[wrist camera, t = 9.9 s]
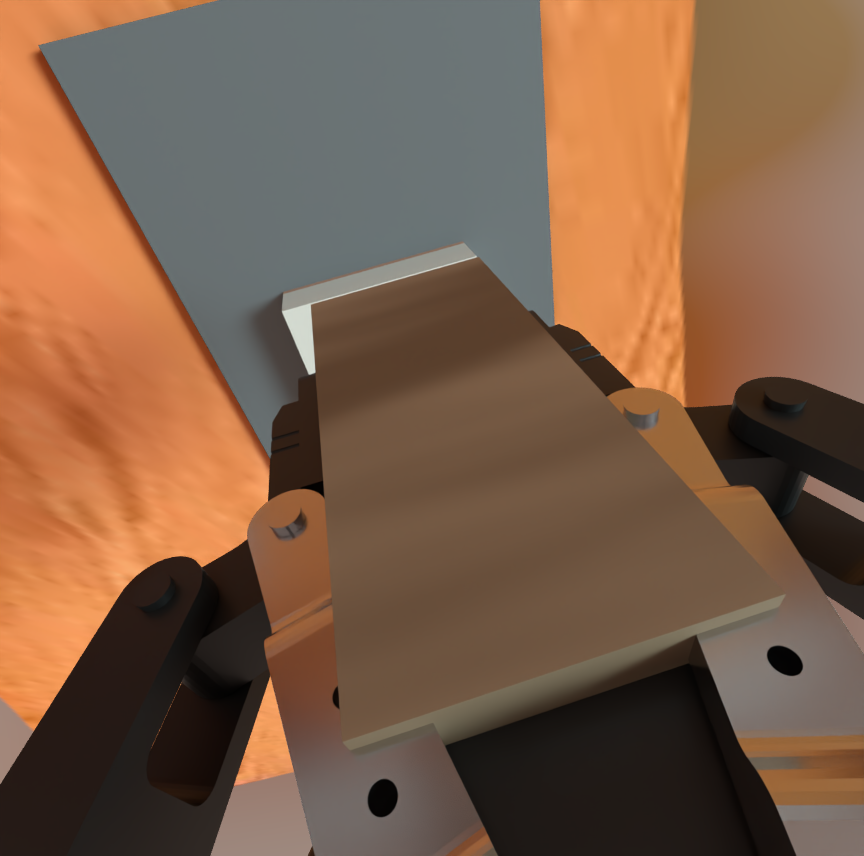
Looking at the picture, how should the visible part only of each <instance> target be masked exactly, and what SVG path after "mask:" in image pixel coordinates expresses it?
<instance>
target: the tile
mask: <svg viewBox="0 0 864 856" xmlns="http://www.w3.org/2000/svg"><path fill="white" fill-rule="evenodd" d="M476 257H477V256H476V255H475V254H474V253H473V252H472V251H471V250H470V249H469V248H468V246H467V245H466V244H465V243H464V242H463V241H462V242H458V243H455V244H451V245H447V246H444V247H440V248H437V249H433V250H430V251H426V252H423V253H419V254H416V255H412V256H409V257H405V258H401V259H398V260H394V261H391V262H387V263H384V264H380V265H377V266H373V267H370V268H366V269H363V270H359V271H355V272H352V273H348V274H345V275H341V276H338V277H334V278H331V279H327V280H324V281H320V282H316V283H313V284H309V285H306V286H302V287H299V288H295V289H292V290H288V291H285V292H283V303H282V313H283V315H284V318H285V320H286V322H287V325H288V327H289V329H290V332H291V334H292V336H293V339H294V341H295V343H296V346H297V348H298V350H299V353H300V355H301V357H302V360H303V362H304V364H305V367H306V369H307V371H308V374H309V375H310V374H313V373H315V359H314V345H313V331H312V317H311V304H314V303H318V302H322V301H325V300H329V299H332V298H336V297H339V296H343V295H346V294H350V293H353V292H357V291H360V290H364V289H367V288H371V287H374V286H378V285H381V284H385V283H388V282H392V281H395V280H399V279H402V278H406V277H409V276H413V275H416V274H420V273H423V272H427V271H430V270H434V269H437V268H441V267H444V266H448V265H451V264H455V263H458V262H462V261H465V260H469V259H473V258H476Z"/></svg>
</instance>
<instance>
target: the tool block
mask: <svg viewBox="0 0 864 856" xmlns="http://www.w3.org/2000/svg"><path fill="white" fill-rule="evenodd" d="M311 317H312V331H313V345H314V359H315V373H316V387H317V400H318V414H319V428H320V442H321V456H322V470H323V484H324V498H325V512H326V525H327V539H328V553H329V567H330V581H331V595H332V609H333V623H334V637H335V650H336V664H337V678H338V692H339V706H340V720H341V734H342V743H343V744H344V745H345V746H346V747H347V748H348V749H349V750H353V749H356V748H359V747H362V746H365V745H368V744H371V743H374V742H377V741H380V740H383V739H386V738H389V737H392V736H395V735H398V734H401V733H404V732H407V731H410V730H413V729H416V728H419V727H422V726H425V725H428V724H431V723H434V725H435V727H436V729H437V731H438V733H439V735H440V736H441V738H442V740H443V742H444V744H445V745H448V744H451V743H454V742H457V741H460V740H463V739H466V738H469V737H472V736H475V735H478V734H481V733H484V732H486V731H489V730H492V729H495V728H498V727H501V726H504V725H507V724H510V723H513V722H516V721H519V720H522V719H525V718H528V717H531V716H534V715H537V714H540V713H543V712H546V711H549V710H552V709H554V708H557V707H560V706H563V705H566V704H569V703H572V702H575V701H578V700H581V699H584V698H587V697H590V696H593V695H596V694H599V693H602V692H605V691H608V690H611V689H614V688H617V687H620V686H622V685H625V684H628V683H631V682H634V681H637V680H640V679H643V678H646V677H649V676H652V675H655V674H658V673H661V672H664V671H667V670H670V669H673V668H676V667H679V666H682V665H685V664H687V663H689V661H688V658H689V655H690V652H691V649H692V645H693V642H694V639H695V636H696V634H699V633H702V632H705V631H708V630H711V629H714V628H717V627H720V626H723V625H726V624H729V623H732V622H735V621H738V620H741V619H744V618H747V617H750V616H753V615H756V614H759V613H762V612H765V611H768V610H771V609H774V608H777V607H779V606H780V604H781V603H782V601H783V599H784V597H785V595H786V593H785V592H784V591H783V590H782V589H781V588H780V587H779V586H778V584H777V583H776V582H775V581H774V580H773V579H772V578H771V577H770V576H769V575H768V574H767V572H766V571H765V570H764V569H763V568H762V567H761V566H760V565H759V564H758V563H757V561H756V560H755V559H754V558H753V557H752V556H751V555H750V554H749V553H748V552H747V550H746V549H745V548H744V547H743V546H742V545H741V544H740V543H739V542H738V541H737V539H736V538H735V537H734V536H733V535H732V534H731V533H730V532H729V531H728V530H727V529H726V527H725V526H724V525H723V524H722V523H721V522H720V521H719V520H718V519H717V518H716V516H715V515H714V514H713V513H712V512H711V511H710V510H709V509H708V508H707V507H706V505H705V504H704V503H703V502H702V501H701V500H700V499H699V498H698V497H697V496H696V494H695V493H694V492H693V491H692V490H691V489H690V488H689V487H688V486H687V485H686V484H685V482H684V481H683V480H682V479H681V478H680V477H679V476H678V475H677V474H676V473H675V471H674V470H673V469H672V468H671V467H670V466H669V465H668V464H667V463H666V462H665V460H664V459H663V458H662V457H661V456H660V455H659V454H658V453H657V452H656V451H655V450H654V448H653V447H652V446H651V445H650V444H649V443H648V442H647V441H646V440H645V439H644V437H643V436H642V435H641V434H640V433H639V432H638V431H637V430H636V429H635V428H634V426H633V425H632V424H631V423H630V422H629V421H628V420H627V419H626V418H625V417H624V415H623V414H622V413H621V412H620V411H619V410H618V409H617V408H616V407H615V406H614V405H613V403H612V402H611V401H610V400H609V399H608V398H607V397H606V396H605V395H604V394H603V392H602V391H601V390H600V389H599V388H598V387H597V386H596V385H595V384H594V383H593V381H592V380H591V379H590V378H589V377H588V376H587V375H586V374H585V373H584V372H583V371H582V369H581V368H580V367H579V366H578V365H577V364H576V363H575V362H574V361H573V360H572V358H571V357H570V356H569V355H568V354H567V353H566V352H565V351H564V350H563V349H562V347H561V346H560V345H559V344H558V343H557V342H556V341H555V340H554V339H553V338H552V336H551V335H550V334H549V333H548V332H547V331H546V330H545V329H544V328H543V327H542V326H541V324H540V323H539V322H538V321H537V320H536V319H535V318H534V317H533V316H532V315H531V313H530V312H529V311H528V310H527V309H526V308H525V307H524V306H523V305H522V304H521V302H520V301H519V300H518V299H517V298H516V297H515V296H514V295H513V294H512V293H511V292H510V290H509V289H508V288H507V287H506V286H505V285H504V284H503V283H502V282H501V281H500V279H499V278H498V277H497V276H496V275H495V274H494V273H493V272H492V271H491V270H490V268H489V267H488V266H487V265H486V264H485V263H484V262H483V261H482V260H481V259H480V257H476V258H473V259H469V260H465V261H462V262H458V263H455V264H451V265H448V266H444V267H441V268H437V269H434V270H430V271H427V272H423V273H420V274H416V275H413V276H409V277H406V278H402V279H399V280H395V281H392V282H388V283H385V284H381V285H378V286H374V287H371V288H367V289H364V290H360V291H357V292H353V293H350V294H346V295H343V296H339V297H336V298H332V299H329V300H325V301H322V302H318V303H314V304H311Z"/></svg>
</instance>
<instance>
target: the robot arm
mask: <svg viewBox="0 0 864 856" xmlns="http://www.w3.org/2000/svg"><path fill="white" fill-rule="evenodd" d="M529 312H530V313H531V315H532V316H533V317H534V318H535V319H536V320H537V321H538V322H539V323H540V324H541V326H542V327H543V328H544V329H545V330H546V331H547V332H548V333H549V334H550V335H551V336H552V338H553V339H554V340H555V341H556V342H557V343H558V344H559V345H560V346H561V347H562V349H563V350H564V351H565V352H566V353H567V354H568V355H569V356H570V357H571V358H572V360H573V361H574V362H575V363H576V364H577V365H578V366H579V367H580V368H581V369H582V371H583V372H584V373H585V374H586V375H587V376H588V377H589V378H590V379H591V380H592V381H593V383H594V384H595V385H596V386H597V387H598V388H599V389H600V390H601V391H602V392H603V394H604V395H605V396H606V397H607V398H608V399H609V400H610V401H611V402H612V403H613V405H614V406H615V407H616V408H617V409H618V410H619V411H620V412H621V413H622V414H623V415H624V417H625V418H626V419H627V420H628V421H629V422H630V423H631V424H632V425H633V426H634V428H635V429H636V430H637V431H638V432H639V433H640V434H641V435H642V436H643V437H644V439H645V440H646V441H647V442H648V443H649V444H650V445H651V446H652V447H653V448H654V450H655V451H656V452H657V453H658V454H659V455H660V456H661V457H662V458H663V459H664V460H665V462H666V463H667V464H668V465H669V466H670V467H671V468H672V469H673V470H674V471H675V473H676V474H677V475H678V476H679V477H680V478H681V479H682V480H683V481H684V482H685V484H686V485H687V486H688V487H689V488H690V489H691V490H692V491H693V492H694V493H695V494H696V496H697V497H698V498H699V499H700V500H701V501H702V502H703V503H704V504H705V505H706V507H707V508H708V509H709V510H710V511H711V512H712V513H713V514H714V515H715V516H716V518H717V519H718V520H719V521H720V522H721V523H722V524H723V525H724V526H725V527H726V529H727V530H728V531H729V532H730V533H731V534H732V535H733V536H734V537H735V538H736V539H737V541H738V542H739V543H740V544H741V545H742V546H743V547H744V548H745V549H746V550H747V552H748V553H749V554H750V555H751V556H752V557H753V558H754V559H755V560H756V561H757V563H758V564H759V565H760V566H761V567H762V568H763V569H764V570H765V571H766V572H767V574H768V575H769V576H770V577H771V578H772V579H773V580H774V581H775V582H776V583H777V584H778V586H779V587H780V588H781V589H782V590H783V591H784V592H785V593H786V595H785V597H784V599H783V601H782V603H781V604H780V606H779V607H777V608H774V609H771V610H768V611H765V612H762V613H759V614H756V615H753V616H750V617H747V618H744V619H741V620H738V621H735V622H732V623H729V624H726V625H723V626H720V627H717V628H714V629H711V630H708V631H705V632H702V633H699V634H696V636H695V639H694V642H693V645H692V649H691V652H690V655H689V658H688V661H689V663H687V664H685V665H682V666H679V667H676V668H673V669H670V670H667V671H664V672H661V673H658V674H655V675H652V676H649V677H646V678H643V679H640V680H637V681H634V682H631V683H628V684H625V685H622V686H620V687H617V688H614V689H611V690H608V691H605V692H602V693H599V694H596V695H593V696H590V697H587V698H584V699H581V700H578V701H575V702H572V703H569V704H566V705H563V706H560V707H557V708H554V709H552V710H549V711H546V712H543V713H540V714H537V715H534V716H531V717H528V718H525V719H522V720H519V721H516V722H513V723H510V724H507V725H504V726H501V727H498V728H495V729H492V730H489V731H486V732H484V733H481V734H478V735H475V736H472V737H469V738H466V739H463V740H460V741H457V742H454V743H451V744H448V745H445V744H444V742H443V740H442V738H441V736H440V735H439V733H438V731H437V729H436V727H435V725H434V723H431V724H428V725H425V726H422V727H419V728H416V729H413V730H410V731H407V732H404V733H401V734H398V735H395V736H392V737H389V738H386V739H383V740H380V741H377V742H374V743H371V744H368V745H365V746H362V747H359V748H356V749H353V750H349V749H348V748H347V747H346V746H345V745H344V744H343V743H342V734H341V720H340V706H339V692H338V678H337V664H336V650H335V637H334V623H333V609H332V595H331V581H330V567H329V553H328V539H327V525H326V512H325V498H324V484H323V470H322V456H321V442H320V428H319V414H318V400H317V387H316V373H313V374H310V375H306V376H303V377H299V378H298V401H296V402H293V403H289V404H286V405H283V406H282V407H281V409H280V410H279V412H278V414H277V415H276V417H275V419H274V420H273V422H272V441H271V453H272V455H271V456H270V475H269V494H268V502H267V503H265V504H264V505H263V506H262V507H261V508H260V509H259V510H258V511H257V512H256V514H255V515H254V517H253V518H252V520H251V522H250V524H249V527H248V532H247V538H248V539H247V540H246V541H244V542H243V543H242V544H241V545H239V546H238V547H236V548H235V549H233V550H231V551H230V552H228V553H226V554H224V555H223V556H221V557H219V558H218V559H216V560H214V561H212V562H211V563H209V564H207V565H206V566H204V567H201V566H200V565H199V564H198V563H197V562H196V561H195V560H194V559H192V558H189V557H183V556H178V557H171V558H167V559H164V560H162V561H159V562H157V563H155V564H153V565H151V566H150V567H148V568H147V569H145V570H144V571H142V572H141V573H140V574H138V575H137V576H136V577H135V578H134V579H133V580H132V581H131V582H130V583H129V584H128V585H127V586H126V587H125V589H124V590H123V591H122V593H121V594H120V596H119V597H118V599H117V600H116V602H115V604H114V605H113V607H112V608H111V610H110V611H109V613H108V615H107V616H106V618H105V619H104V621H103V623H102V624H101V626H100V627H99V629H98V630H97V632H96V634H95V635H94V637H93V638H92V640H91V642H90V643H89V645H88V646H87V648H86V649H85V651H84V653H83V654H82V656H81V657H80V659H79V661H78V662H77V664H76V665H75V667H74V669H73V670H72V672H71V673H70V675H69V676H68V678H67V680H66V681H65V683H64V684H63V686H62V688H61V689H60V691H59V692H58V694H57V695H56V697H55V699H54V700H53V702H52V703H51V705H50V707H49V708H48V710H47V711H46V713H45V714H44V716H43V718H42V719H41V721H40V722H39V724H38V726H37V727H36V729H35V730H34V732H33V733H32V735H31V737H30V738H29V740H28V741H27V743H26V745H25V747H24V748H23V749H22V751H21V753H20V754H19V756H18V757H17V759H16V761H15V762H14V764H13V765H12V767H11V768H10V770H9V772H8V773H7V775H6V776H5V778H4V779H3V781H2V783H1V784H0V856H210V855H211V851H212V849H213V846H214V843H215V840H216V837H217V834H218V831H219V828H220V825H221V822H222V819H223V816H224V813H225V810H226V807H227V804H228V801H229V798H230V795H231V792H232V789H233V786H234V783H235V780H236V777H237V774H238V771H239V768H240V765H241V762H242V759H243V756H244V753H245V750H246V747H247V744H248V741H249V738H250V735H251V732H252V729H253V726H254V723H255V720H256V717H257V714H258V711H259V708H260V705H261V702H262V699H263V696H264V693H265V690H266V687H267V684H268V681H269V678H270V676H271V680H272V684H273V688H274V692H275V696H276V700H277V704H278V708H279V712H280V716H281V720H282V724H283V728H284V732H285V736H286V741H287V745H288V749H289V753H290V757H291V761H292V765H293V769H294V773H295V777H296V781H297V785H298V789H299V793H300V797H301V801H302V805H303V809H304V813H305V818H306V822H307V825H308V829H309V834H310V838H311V842H312V848H311V850H310V852H309V854H308V856H864V654H863V652H862V651H861V649H860V648H859V646H858V645H857V643H856V642H855V640H854V638H853V637H852V635H851V634H850V632H849V630H848V629H847V627H846V626H845V624H844V623H843V621H842V620H841V618H840V616H839V615H838V613H837V612H836V610H835V608H834V607H833V606H832V604H831V602H830V601H829V599H828V598H827V596H829V597H830V598H831V599H833V600H835V601H836V602H838V603H839V604H841V605H842V606H844V607H845V608H847V609H848V610H850V611H851V612H853V613H854V614H856V615H857V616H859V617H861V618H862V619H864V522H862V521H860V520H858V519H856V518H855V517H853V516H851V515H849V514H847V513H845V512H844V511H841V510H840V509H838V508H836V507H834V506H832V505H830V504H828V503H827V502H825V501H823V500H821V499H819V498H817V497H815V496H813V495H811V494H810V493H808V492H806V491H804V490H802V489H803V487H804V484H805V482H806V480H807V478H808V476H809V475H810V476H812V477H814V478H816V479H818V480H820V481H822V482H824V483H826V484H828V485H830V486H832V487H834V488H836V489H838V490H840V491H842V492H844V493H846V494H848V495H850V496H852V497H854V498H856V499H858V500H860V501H862V502H864V404H862V403H860V402H857V401H854V400H852V399H849V398H846V397H844V396H841V395H839V394H836V393H833V392H830V391H828V390H825V389H823V388H820V387H817V386H815V385H812V384H809V383H807V382H803V381H800V380H796V379H791V378H783V377H765V378H758V379H754V380H751V381H748V382H746V383H744V384H743V385H741V386H740V387H739V388H738V389H737V391H736V393H735V397H734V400H733V404H732V405H723V406H708V407H689V408H686V407H683V406H682V404H681V403H680V402H679V401H678V400H677V399H676V398H674V397H673V396H671V395H669V394H667V393H665V392H662V391H659V390H655V389H650V388H635V387H634V386H633V385H632V384H631V383H630V382H629V381H628V380H627V379H626V378H625V377H624V376H623V375H622V374H621V373H620V372H619V371H618V370H617V369H616V368H615V367H614V366H613V365H612V364H611V363H610V362H609V361H608V360H607V359H606V358H605V357H604V356H601V354H600V352H599V351H598V350H597V349H596V348H595V347H594V346H591V343H589V342H588V341H587V340H586V339H585V338H584V337H583V336H582V335H581V334H580V333H579V332H578V331H575V330H573V329H570V328H568V327H565V326H563V325H560V324H558V325H555V326H552V327H549V326H548V325H547V324H546V323H545V322H544V321H543V320H542V319H541V318H540V317H539V316H538V315H537V314H536V313H535V312H534V311H533V310H530V311H529ZM826 595H827V596H826ZM181 682H182V683H181ZM180 684H181V685H180ZM179 686H180V687H179ZM177 691H178V692H177ZM176 693H177V694H176ZM175 695H176V696H175ZM174 697H175V698H174ZM173 699H174V700H173ZM172 702H173V703H172ZM171 704H172V705H171ZM170 706H171V707H170ZM169 708H170V709H169ZM168 710H169V711H168ZM167 712H168V713H167ZM166 715H167V716H166ZM165 717H166V718H165ZM164 719H165V720H164ZM163 721H164V722H163ZM162 723H163V724H162ZM160 728H161V729H160ZM159 730H160V731H159ZM158 732H159V733H158ZM157 734H158V735H157ZM156 736H157V737H156ZM154 741H155V742H154ZM153 743H154V744H153ZM152 745H153V746H152Z"/></svg>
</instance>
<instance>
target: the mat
mask: <svg viewBox="0 0 864 856" xmlns="http://www.w3.org/2000/svg"><path fill="white" fill-rule="evenodd" d="M38 46H39V48H40V49H41V51H42V53H43V55H44V56H45V58H46V60H47V62H48V64H49V65H50V67H51V69H52V71H53V73H54V74H55V76H56V78H57V80H58V81H59V83H60V85H61V87H62V89H63V90H64V92H65V94H66V96H67V97H68V99H69V101H70V103H71V105H72V106H73V108H74V110H75V112H76V114H77V115H78V117H79V119H80V121H81V122H82V124H83V126H84V128H85V130H86V131H87V133H88V135H89V137H90V139H91V140H92V142H93V144H94V146H95V147H96V149H97V151H98V153H99V155H100V156H101V158H102V160H103V162H104V163H105V165H106V167H107V169H108V171H109V172H110V174H111V176H112V178H113V180H114V181H115V183H116V185H117V187H118V188H119V190H120V192H121V194H122V196H123V197H124V199H125V201H126V203H127V205H128V206H129V208H130V210H131V212H132V213H133V215H134V217H135V219H136V221H137V222H138V224H139V226H140V228H141V229H142V231H143V233H144V235H145V237H146V238H147V240H148V242H149V244H150V246H151V247H152V249H153V251H154V253H155V254H156V256H157V258H158V260H159V262H160V263H161V265H162V267H163V269H164V271H165V272H166V274H167V276H168V278H169V279H170V281H171V283H172V285H173V287H174V288H175V290H176V292H177V294H178V296H179V297H180V299H181V301H182V303H183V304H184V306H185V308H186V310H187V312H188V313H189V315H190V317H191V319H192V320H193V322H194V324H195V326H196V328H197V329H198V331H199V333H200V335H201V337H202V338H203V340H204V342H205V344H206V345H207V347H208V349H209V351H210V353H211V354H212V356H213V358H214V360H215V362H216V363H217V365H218V367H219V369H220V370H221V372H222V374H223V376H224V378H225V379H226V381H227V383H228V385H229V386H230V388H231V390H232V392H233V394H234V395H235V397H236V399H237V401H238V403H239V404H240V406H241V408H242V410H243V411H244V413H245V415H246V417H247V419H248V420H249V422H250V424H251V426H252V428H253V429H254V431H255V433H256V435H257V436H258V438H259V440H260V442H261V444H262V445H263V447H264V449H265V451H266V452H267V454H268V456H269V458H270V456H271V455H272V453H271V441H272V422H273V420H274V419H275V417H276V415H277V414H278V412H279V410H280V409H281V407H282V406H283V405H286V404H289V403H293V402H296V401H298V378H299V377H303V376H306V375H309V374H308V371H307V369H306V367H305V364H304V362H303V360H302V357H301V355H300V353H299V350H298V348H297V346H296V343H295V341H294V339H293V336H292V334H291V332H290V329H289V327H288V325H287V322H286V320H285V318H284V315H283V313H282V303H283V292H285V291H288V290H292V289H295V288H299V287H302V286H306V285H309V284H313V283H316V282H320V281H324V280H327V279H331V278H334V277H338V276H341V275H345V274H348V273H352V272H355V271H359V270H363V269H366V268H370V267H373V266H377V265H380V264H384V263H387V262H391V261H394V260H398V259H401V258H405V257H409V256H412V255H416V254H419V253H423V252H426V251H430V250H433V249H437V248H440V247H444V246H447V245H451V244H455V243H458V242H462V241H463V242H464V243H465V244H466V245H467V246H468V248H469V249H470V250H471V251H472V252H473V253H474V254H475V255H476V256H477V257H480V259H481V260H482V261H483V262H484V263H485V264H486V265H487V266H488V267H489V268H490V270H491V271H492V272H493V273H494V274H495V275H496V276H497V277H498V278H499V279H500V281H501V282H502V283H503V284H504V285H505V286H506V287H507V288H508V289H509V290H510V292H511V293H512V294H513V295H514V296H515V297H516V298H517V299H518V300H519V301H520V302H521V304H522V305H523V306H524V307H525V308H526V309H527V310H528V311H530V310H533V311H534V312H535V313H536V314H537V315H538V316H539V317H540V318H541V319H542V320H543V321H544V322H545V323H546V324H547V325H548V326H549V327H552V326H555V325H554V303H553V281H552V259H551V237H550V215H549V193H548V171H547V150H546V128H545V106H544V84H543V62H542V40H541V18H540V0H218V1H214V2H210V3H206V4H202V5H198V6H194V7H190V8H186V9H182V10H178V11H174V12H170V13H166V14H162V15H158V16H154V17H150V18H146V19H142V20H138V21H134V22H130V23H126V24H122V25H118V26H114V27H110V28H106V29H102V30H98V31H94V32H90V33H86V34H82V35H78V36H74V37H70V38H66V39H62V40H58V41H54V42H50V43H46V44H42V45H38Z"/></svg>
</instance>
